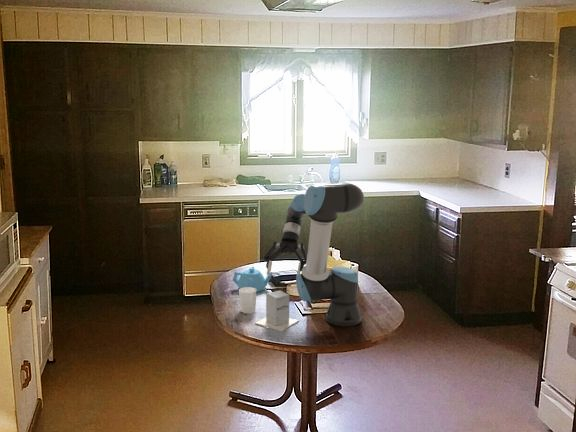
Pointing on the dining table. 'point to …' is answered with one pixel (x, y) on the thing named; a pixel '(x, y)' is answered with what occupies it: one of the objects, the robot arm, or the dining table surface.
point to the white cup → (247, 299)
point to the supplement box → (277, 307)
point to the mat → (278, 327)
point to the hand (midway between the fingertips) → (282, 276)
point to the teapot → (251, 279)
